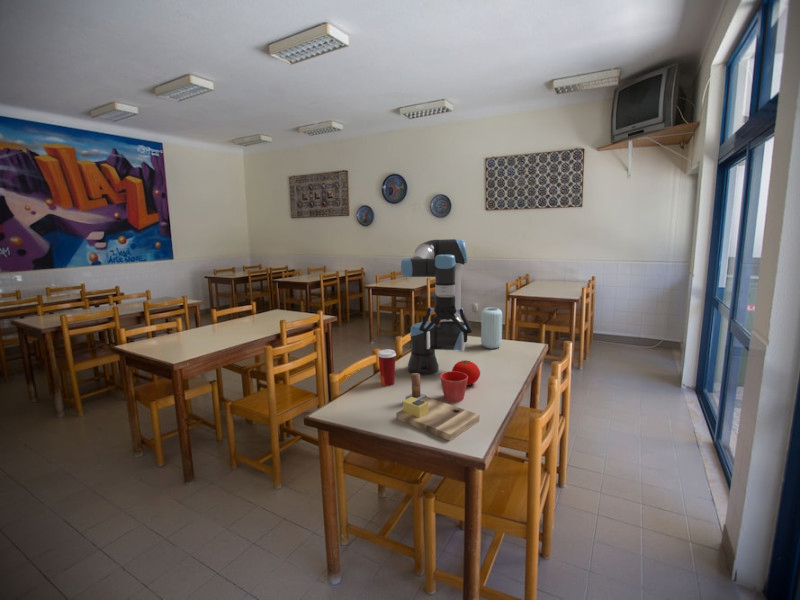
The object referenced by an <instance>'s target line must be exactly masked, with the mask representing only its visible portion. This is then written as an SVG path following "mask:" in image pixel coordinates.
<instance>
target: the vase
mask: <svg viewBox="0 0 800 600" xmlns="http://www.w3.org/2000/svg"><path fill="white" fill-rule="evenodd" d="M480 319H481V323H480V324H481V325H480V326H481V327H480V328H481V330H480V331H481V332H480V342H481V344H482V346H483V347H484V348H487V349H489V350H490V349H491V350H492V349H498V348H499V347H501V346H502V344H503V341H502V340H503V339H502V338H503V311H502V310H501V309H500V308H499V307H491V306H490V307H485V308H483V309H482V310H481V316H480Z"/></svg>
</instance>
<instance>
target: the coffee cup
mask: <svg viewBox="0 0 800 600" xmlns="http://www.w3.org/2000/svg"><path fill="white" fill-rule="evenodd" d="M376 355H377V357H378V366H379V367H378V368H379V377H380V384H381V386H383V387H391V386H393V385H395V378H396V377H395V376H396V356H397V353H396V351H395V350H393V349H389V348H387V349H381V350H379V351H378V353H377V354H376Z"/></svg>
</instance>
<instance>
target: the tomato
mask: <svg viewBox="0 0 800 600" xmlns="http://www.w3.org/2000/svg"><path fill="white" fill-rule="evenodd" d="M451 369H452V370H451V371H457V372H462V373H464V374H466V375H467V376H468V380H467V385H466V386H470V385H473V384H475V383H476V382H477V381H478V380H479V378H480V376H481V370H480V368H479V366H478V364H476V362H475V363H474V362H473V361H471V360H463V359H461V361H458V362H456V363H455V364H454V365H453V367H452V368H451Z"/></svg>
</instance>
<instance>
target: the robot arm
mask: <svg viewBox="0 0 800 600" xmlns="http://www.w3.org/2000/svg"><path fill="white" fill-rule="evenodd" d="M467 263H468V256H467V247H466V242H465V240H464V239H458V238H453V239H450V238H449V239H431V240H428V241H424V242H422V243H421V244H419V245H417V247H416V248H415V250H414V253H413V256H412V257H408V258H402V259H401V262H400V273H401V276H402V277H406V278H435V280H434V281H435V283H434V284H435V285H434V286H435V287H434V289H435V293H434V294H435V302H434V303H435V304H434V305H435V307H431V306H429V307H427V309H426V315H425V316H424V318H423V321H421V322H418V323H414V324H412V325H411V327H410V333H409V335H410V356H409V360H408V363H407V371H408V372H409V373H410V374H413V373H419V374H420V376H421V375H422V376H423V375H426V376H427V375H432V374H436V373H437V372H438V371H439V370H440V369H439V368H440V366H439V362H438V360H437V357H436V353H435V352H436V350H439V351H461V352H464V351H465V343H467V342H468V335H469V334H471V333H472V332H473V329H472V326H471V324H470V323H469V320H468V319H467V317H466V314H465V309H464V308H463V307H462V270H463V269H464V268H465V264H467ZM433 313H435V314H436V315H435V317H434V318H433V319H432V321H429V319H430V316H431V314H433ZM439 319H440V320H439ZM438 320H439V324H438V325H436V322H437V321H438Z"/></svg>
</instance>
